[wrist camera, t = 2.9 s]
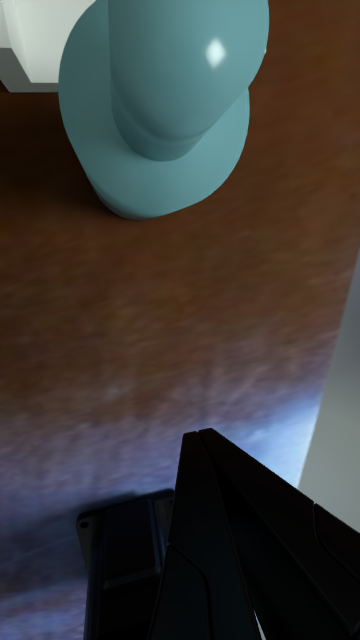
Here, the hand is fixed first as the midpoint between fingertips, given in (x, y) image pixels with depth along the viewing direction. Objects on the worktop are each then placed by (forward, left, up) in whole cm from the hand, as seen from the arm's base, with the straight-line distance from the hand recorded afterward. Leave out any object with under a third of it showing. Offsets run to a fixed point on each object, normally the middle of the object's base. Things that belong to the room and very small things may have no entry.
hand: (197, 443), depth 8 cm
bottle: (+8, 0, -8) cm, 12 cm away
